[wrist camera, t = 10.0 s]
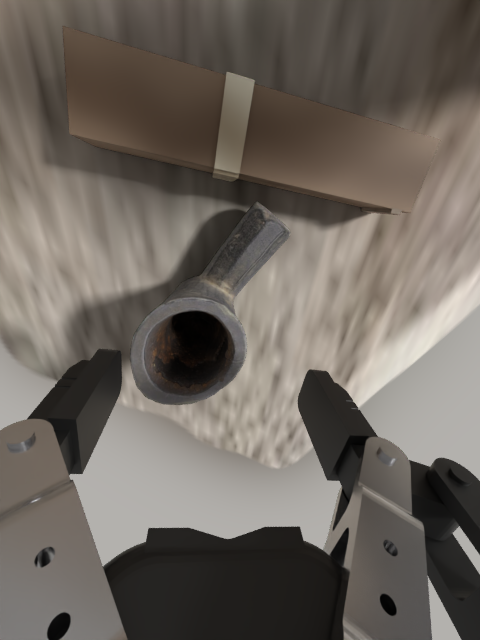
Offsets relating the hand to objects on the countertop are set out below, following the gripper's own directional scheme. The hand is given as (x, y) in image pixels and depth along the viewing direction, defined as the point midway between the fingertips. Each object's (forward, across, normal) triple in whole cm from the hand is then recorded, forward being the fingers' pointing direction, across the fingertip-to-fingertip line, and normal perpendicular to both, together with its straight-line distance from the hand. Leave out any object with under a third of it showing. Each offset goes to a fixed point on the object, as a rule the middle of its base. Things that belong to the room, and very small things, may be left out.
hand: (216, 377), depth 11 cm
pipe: (+11, 0, -1) cm, 11 cm away
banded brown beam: (+11, -1, -10) cm, 15 cm away
